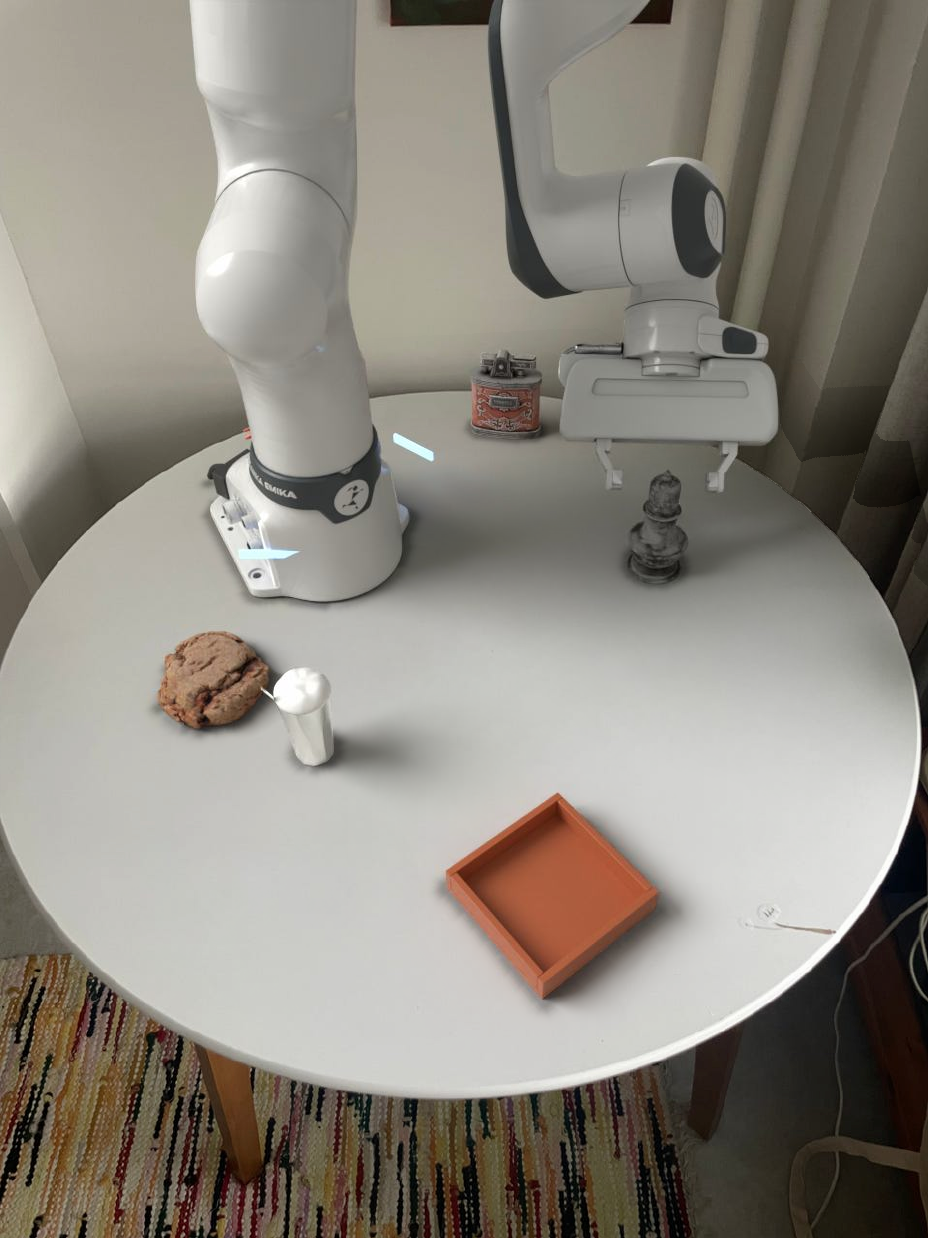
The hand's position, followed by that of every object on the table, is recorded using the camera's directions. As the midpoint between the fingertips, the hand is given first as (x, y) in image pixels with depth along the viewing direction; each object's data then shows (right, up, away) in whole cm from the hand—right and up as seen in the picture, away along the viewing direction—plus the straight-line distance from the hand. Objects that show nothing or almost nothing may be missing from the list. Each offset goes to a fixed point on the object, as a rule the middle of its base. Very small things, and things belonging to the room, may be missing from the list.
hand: (663, 490), depth 97 cm
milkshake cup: (-32, -24, -9) cm, 41 cm away
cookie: (-42, -18, -4) cm, 46 cm away
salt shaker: (0, -7, +5) cm, 9 cm away
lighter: (-14, +10, +22) cm, 27 cm away
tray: (-12, -33, -19) cm, 40 cm away
